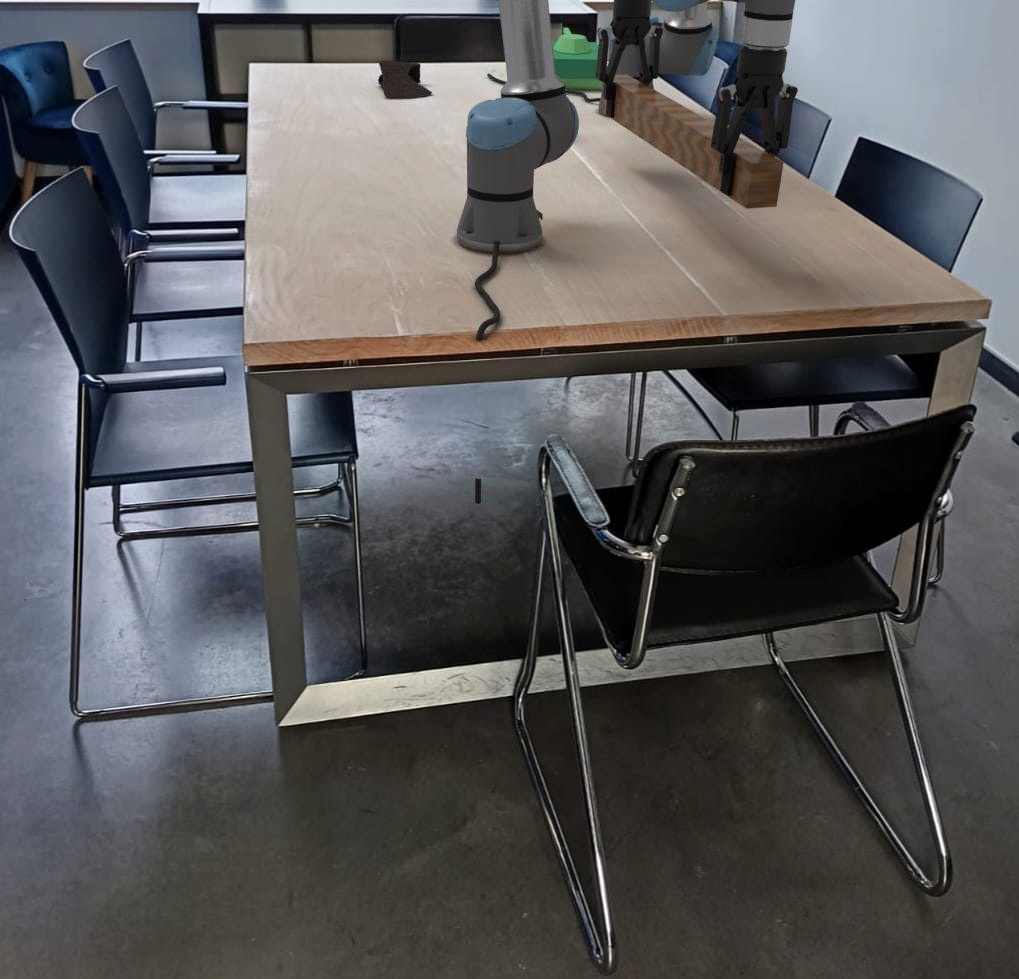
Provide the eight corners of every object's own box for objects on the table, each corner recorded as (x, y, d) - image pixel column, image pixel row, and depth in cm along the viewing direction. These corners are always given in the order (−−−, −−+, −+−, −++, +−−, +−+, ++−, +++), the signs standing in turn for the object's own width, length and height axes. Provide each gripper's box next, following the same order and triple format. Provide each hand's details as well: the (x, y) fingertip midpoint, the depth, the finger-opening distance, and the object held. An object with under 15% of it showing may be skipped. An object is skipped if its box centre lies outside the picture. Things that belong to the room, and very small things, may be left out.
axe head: (443, 87, 294) (392, 77, 287) (436, 115, 299) (385, 106, 292) (421, 62, 307) (371, 52, 300) (414, 89, 311) (365, 80, 304)
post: (776, 206, 180) (783, 161, 176) (746, 208, 178) (752, 163, 174) (624, 110, 235) (627, 74, 231) (599, 111, 233) (602, 75, 230)
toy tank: (594, 24, 327) (608, 45, 298) (591, 67, 334) (605, 92, 304) (535, 23, 327) (543, 44, 297) (533, 66, 333) (541, 91, 303)
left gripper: (803, 40, 178) (780, 182, 190) (699, 43, 173) (682, 189, 185) (828, 49, 172) (802, 195, 184) (721, 52, 167) (702, 202, 179)
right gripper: (596, -2, 211) (588, 121, 223) (684, -4, 216) (672, 117, 228) (582, -8, 217) (575, 113, 229) (668, -9, 222) (657, 109, 234)
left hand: (742, 192), depth 184 cm, fingers closed on post, 6 cm apart
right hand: (624, 115), depth 228 cm, fingers closed on post, 6 cm apart
